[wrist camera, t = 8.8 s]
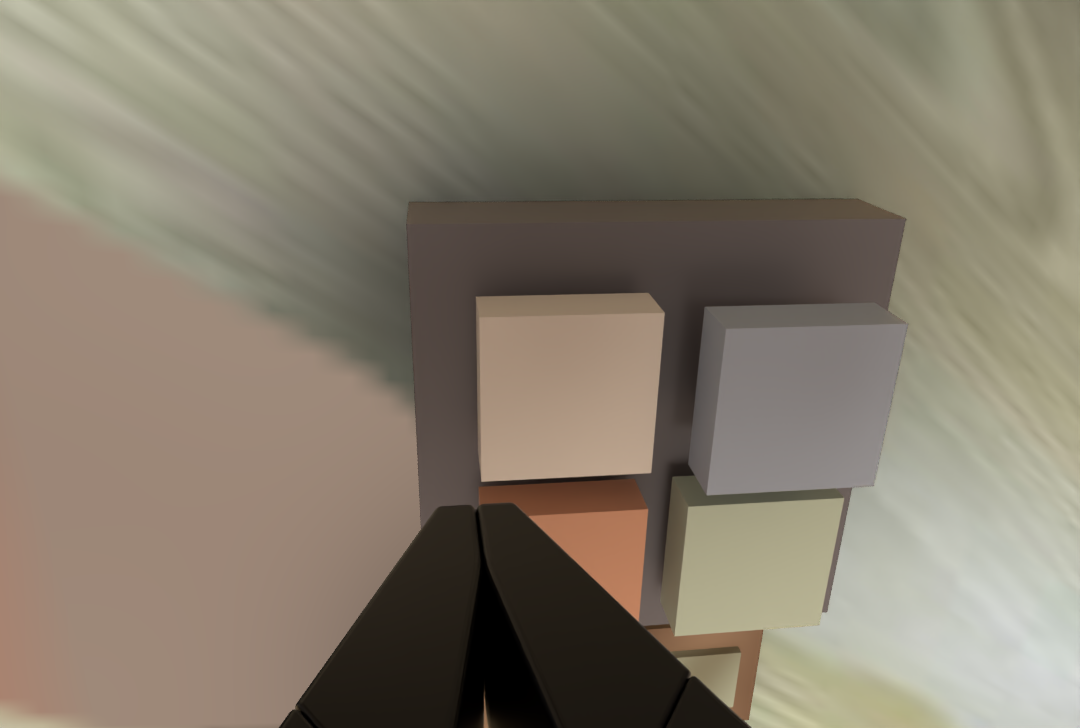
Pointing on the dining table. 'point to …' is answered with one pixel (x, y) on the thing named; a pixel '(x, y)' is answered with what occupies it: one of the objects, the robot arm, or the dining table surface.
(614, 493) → the rust key
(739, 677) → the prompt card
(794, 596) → the sage key
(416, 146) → the dining table surface
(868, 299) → the keypad board
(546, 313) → the cream key
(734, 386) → the slate-blue key
